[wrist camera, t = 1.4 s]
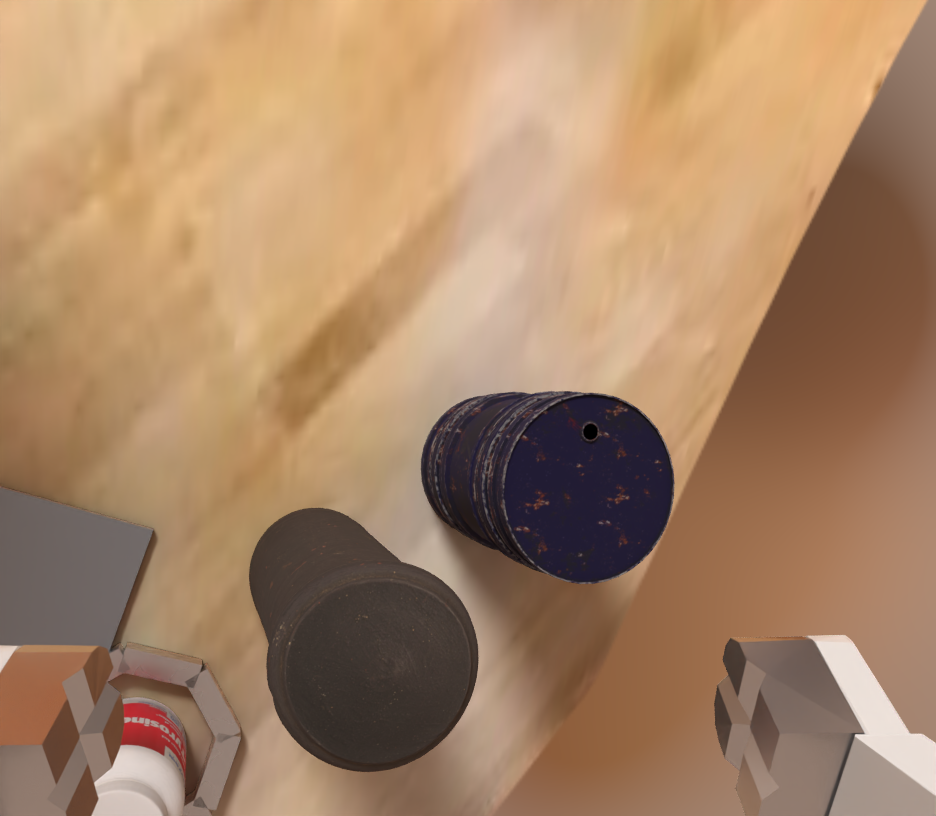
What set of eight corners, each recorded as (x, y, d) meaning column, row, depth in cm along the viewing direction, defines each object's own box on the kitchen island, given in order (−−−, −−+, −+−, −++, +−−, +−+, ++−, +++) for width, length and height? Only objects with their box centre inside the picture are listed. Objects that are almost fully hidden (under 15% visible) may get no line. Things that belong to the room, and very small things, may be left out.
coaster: (-97, 653, 44) (-101, 656, 44) (-29, 478, 45) (-31, 478, 45) (93, 693, 47) (92, 697, 47) (153, 528, 48) (153, 530, 48)
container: (298, 672, 51) (360, 832, 32) (212, 559, 49) (224, 658, 30) (408, 585, 53) (526, 687, 34) (329, 475, 52) (408, 518, 33)
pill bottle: (208, 737, 49) (212, 827, 39) (131, 819, 48) (114, 936, 38) (130, 672, 48) (113, 748, 37) (49, 755, 47) (6, 858, 36)
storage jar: (556, 534, 57) (677, 578, 42) (420, 545, 54) (502, 596, 39) (554, 391, 57) (674, 388, 42) (417, 394, 53) (498, 391, 39)
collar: (-11, 827, 46) (-17, 838, 44) (63, 626, 47) (60, 632, 46) (195, 860, 49) (195, 870, 48) (259, 672, 50) (261, 678, 49)
